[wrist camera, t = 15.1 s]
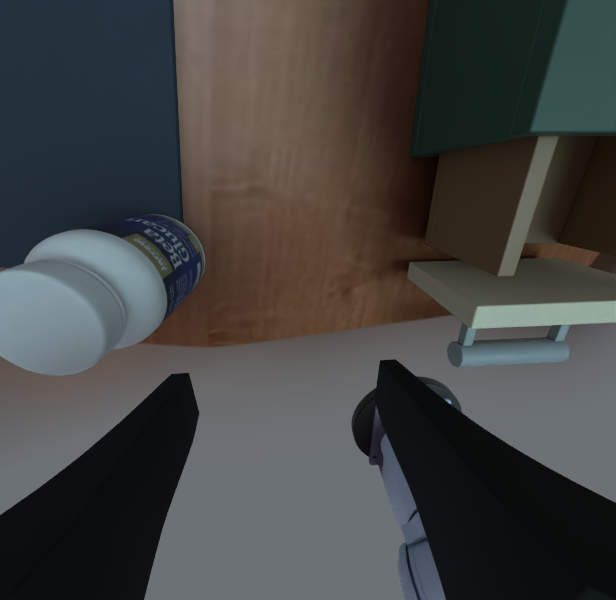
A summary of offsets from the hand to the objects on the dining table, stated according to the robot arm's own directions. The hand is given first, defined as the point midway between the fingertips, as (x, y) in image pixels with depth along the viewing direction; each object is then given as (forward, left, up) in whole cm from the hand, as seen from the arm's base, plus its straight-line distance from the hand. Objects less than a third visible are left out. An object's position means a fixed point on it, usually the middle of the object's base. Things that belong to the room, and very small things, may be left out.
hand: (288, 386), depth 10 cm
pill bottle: (+3, +8, -10) cm, 13 cm away
